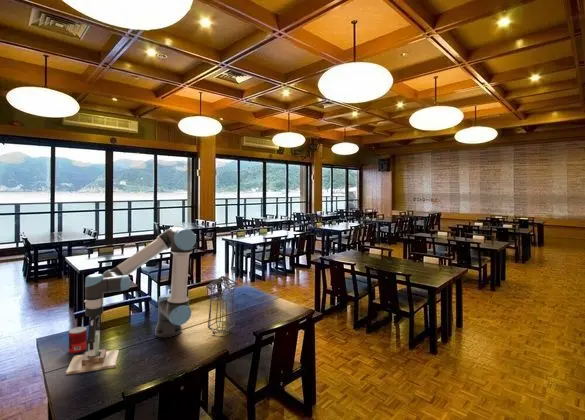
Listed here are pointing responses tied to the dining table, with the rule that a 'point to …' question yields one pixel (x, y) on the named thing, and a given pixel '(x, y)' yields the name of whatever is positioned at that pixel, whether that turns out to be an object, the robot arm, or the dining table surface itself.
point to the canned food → (77, 339)
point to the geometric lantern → (223, 302)
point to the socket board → (104, 365)
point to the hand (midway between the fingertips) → (94, 349)
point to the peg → (96, 345)
